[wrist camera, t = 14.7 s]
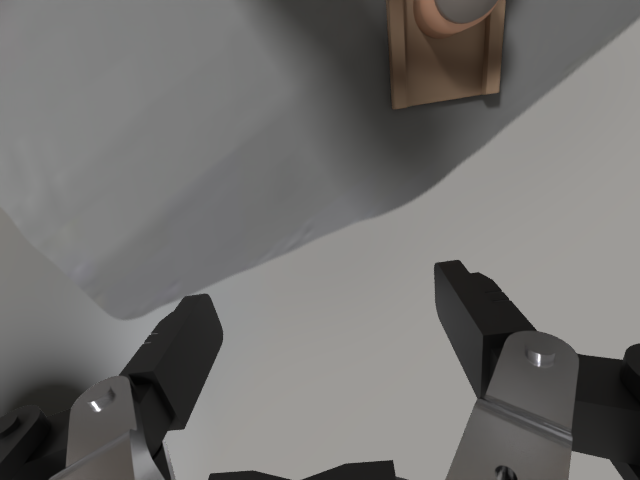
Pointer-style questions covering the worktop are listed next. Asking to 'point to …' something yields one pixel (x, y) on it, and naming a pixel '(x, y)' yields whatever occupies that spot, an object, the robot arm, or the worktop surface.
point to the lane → (442, 58)
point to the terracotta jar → (449, 15)
